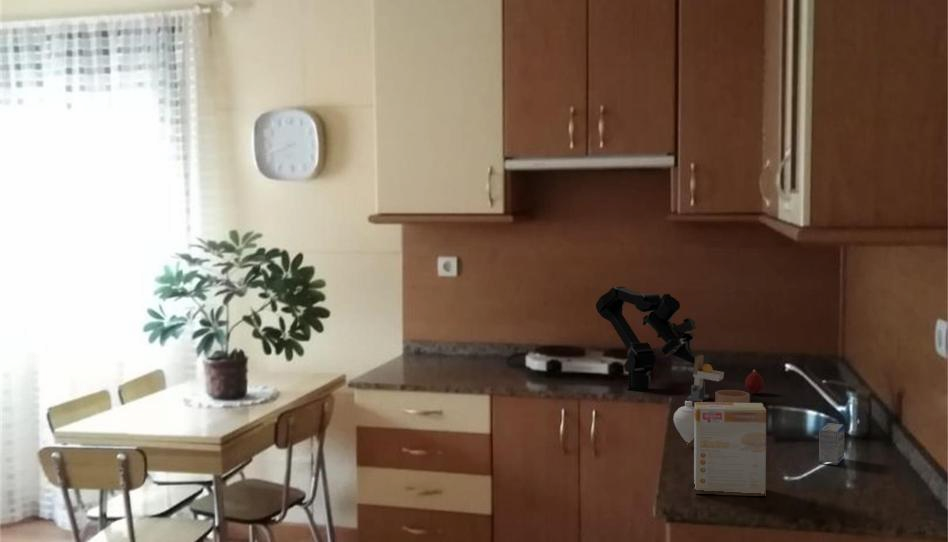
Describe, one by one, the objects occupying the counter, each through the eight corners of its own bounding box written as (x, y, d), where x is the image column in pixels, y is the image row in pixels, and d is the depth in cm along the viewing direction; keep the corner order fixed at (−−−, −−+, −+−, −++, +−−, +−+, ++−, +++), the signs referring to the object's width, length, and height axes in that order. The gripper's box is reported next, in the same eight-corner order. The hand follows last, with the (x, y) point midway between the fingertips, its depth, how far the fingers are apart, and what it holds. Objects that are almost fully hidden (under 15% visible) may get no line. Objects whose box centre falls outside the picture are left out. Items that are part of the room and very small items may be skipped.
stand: (686, 400, 297) (686, 385, 297) (693, 396, 304) (694, 380, 304) (702, 402, 295) (702, 386, 294) (709, 397, 302) (709, 382, 301)
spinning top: (667, 444, 246) (667, 399, 245) (691, 441, 249) (691, 396, 248) (684, 451, 239) (685, 405, 238) (709, 448, 242) (709, 402, 241)
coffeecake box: (761, 487, 209) (762, 402, 208) (766, 498, 202) (767, 409, 201) (693, 485, 212) (693, 400, 210) (695, 495, 205) (696, 407, 203)
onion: (764, 396, 303) (764, 371, 302) (745, 395, 304) (746, 371, 303) (762, 392, 309) (762, 368, 308) (744, 391, 310) (744, 368, 309)
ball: (699, 374, 297) (700, 363, 296) (702, 372, 300) (703, 362, 299) (710, 376, 295) (711, 365, 295) (713, 374, 298) (714, 363, 298)
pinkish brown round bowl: (711, 404, 292) (711, 394, 292) (720, 398, 301) (720, 388, 301) (744, 407, 287) (744, 398, 287) (752, 401, 296) (752, 391, 296)
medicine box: (837, 466, 225) (838, 431, 224) (818, 464, 227) (819, 429, 226) (844, 458, 231) (844, 424, 231) (825, 456, 234) (826, 422, 233)
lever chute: (691, 389, 297) (695, 357, 296) (696, 385, 302) (700, 354, 301) (717, 394, 293) (720, 361, 292) (721, 390, 298) (725, 359, 297)
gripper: (670, 313, 292) (705, 351, 287) (689, 307, 308) (722, 342, 303) (646, 337, 297) (680, 374, 292) (666, 329, 313) (698, 364, 308)
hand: (696, 363), depth 299 cm, fingers closed, pressing on lever chute
